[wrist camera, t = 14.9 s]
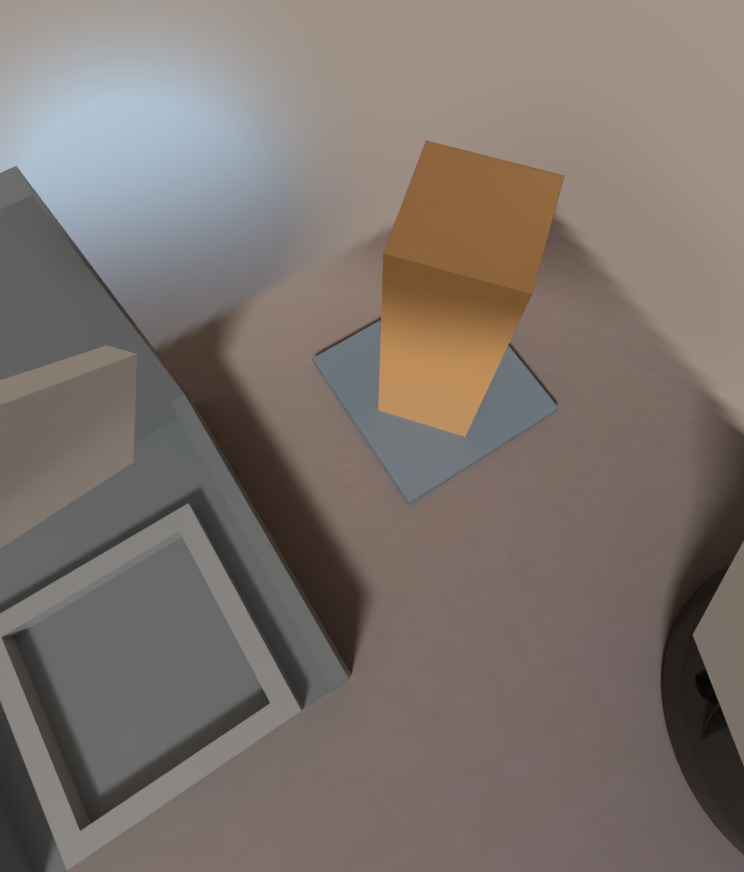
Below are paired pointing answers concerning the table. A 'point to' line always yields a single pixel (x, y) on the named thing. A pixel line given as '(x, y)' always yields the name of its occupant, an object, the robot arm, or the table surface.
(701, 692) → the robot arm
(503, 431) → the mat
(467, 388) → the module
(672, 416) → the table surface
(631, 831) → the table surface
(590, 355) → the table surface
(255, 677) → the case
